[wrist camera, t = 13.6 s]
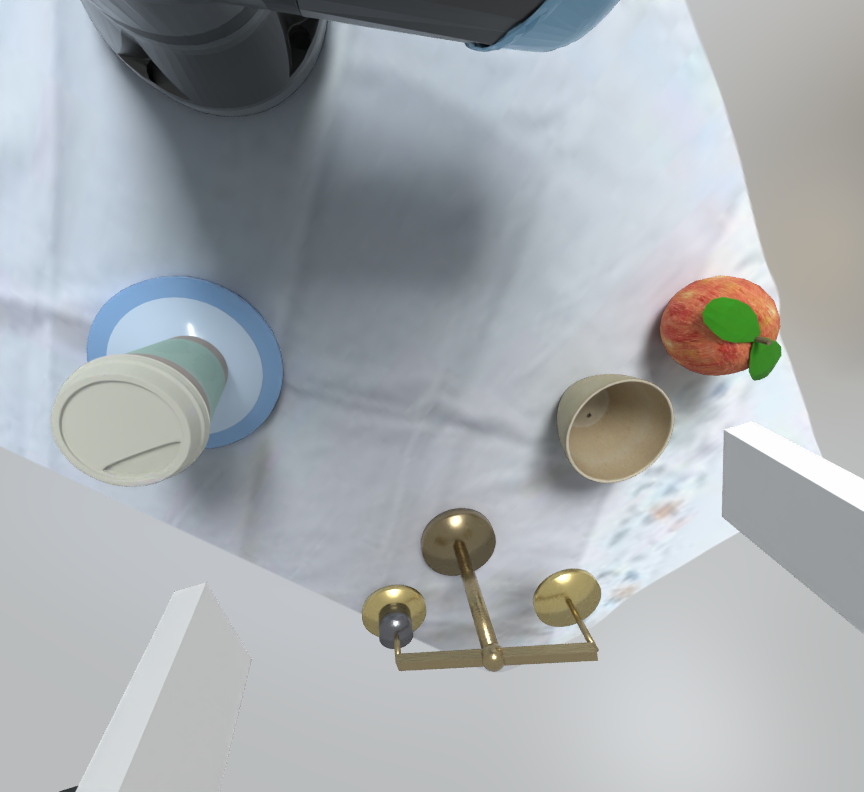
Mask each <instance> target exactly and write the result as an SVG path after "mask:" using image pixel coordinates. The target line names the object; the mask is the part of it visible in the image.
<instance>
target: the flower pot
mask: <svg viewBox="0 0 864 792" xmlns="http://www.w3.org/2000/svg"><path fill="white" fill-rule="evenodd" d="M589 413H590V414H591V416H589ZM557 426H558V433H559V438H560V441H561V444H562V447H563V449H564V452H565V454H566V456H567V458H568V460H569V461H570V463H571V464H572V466H573V467H574V469H575V470H576V471H577V472H578V473H579V474H581V475H582V476H584V477H585V478H587V479H589V480H592V481H595V482H601V483H614V482H620V481H624V480H627V479H630V478H632V477H634V476H636V475H638V474H640V473H641V472H643V471H644V470H646V469H647V468H648V467H649V466H650V465H652V464H653V463H654V462H655V461H656V460H657V459H658V457H659V456H660V455H661V454H662V452H663V451H664V450H665V448H666V446H667V444H668V442H669V440H670V438H671V435H672V431H673V426H674V411H673V407H672V404H671V402H670V400H669V398H668V396H667V395H666V394H665V392H664V391H663V390H662V389H660V388H659V387H658V386H656V385H655V384H653V383H650V382H648V381H645V380H642V379H639V378H635V377H630V376H625V375H617V374H604V375H595V376H591V377H587V378H584V379H582V380H580V381H577V382H576V383H574V384H573V385H571V386H570V387H569V388H568V389H567V390H566V391H565V393H564V394H563V396H562V398H561V400H560V403H559V407H558V412H557Z"/></svg>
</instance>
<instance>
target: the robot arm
mask: <svg viewBox="0 0 864 792" xmlns="http://www.w3.org/2000/svg"><path fill="white" fill-rule="evenodd" d="M81 2H82V4H83V6H84V8H85V10H86V12H87V14H88V15H89V17H90V19H91V20H92V22H93V24H94V25H95V27H96V28H97V30H98V31H99V33H100V34H101V36H102V37H103V38H104V40H105V41H106V42H107V44H108V45H109V46H110V47H111V49H112V50H113V51H114V52H115V53H116V54H117V55H118V57H119V58H120V59H121V60H122V61H123V62H124V63H125V64H126V65H127V66H128V67H129V68H130V69H131V70H132V71H134V72H135V73H136V74H137V75H138V76H139V77H141V78H142V79H143V80H144V81H146V82H147V83H148V84H150V85H151V86H153V87H154V88H156V89H157V90H159V91H160V92H162V93H164V94H165V95H167V96H168V97H170V98H172V99H173V100H175V101H177V102H179V103H181V104H183V105H185V106H187V107H190V108H192V109H195V110H198V111H201V112H205V113H209V114H213V115H220V116H245V115H251V114H255V113H259V112H262V111H265V110H267V109H270V108H272V107H274V106H276V105H278V104H279V103H281V102H282V101H284V100H285V99H287V98H288V97H289V96H290V95H291V94H293V93H294V92H295V91H296V90H297V89H298V88H299V87H300V85H301V84H302V83H303V82H304V80H305V79H306V78H307V76H308V75H309V73H310V72H311V70H312V68H313V66H314V64H315V62H316V60H317V58H318V56H319V53H320V50H321V47H322V44H323V40H324V36H325V32H326V26H327V21H334V22H340V23H346V24H352V25H359V26H365V27H371V28H377V29H383V30H390V31H396V32H402V33H408V34H415V35H421V36H427V37H433V38H440V39H446V40H452V41H458V42H464V43H465V45H466V46H467V47H468V48H470V49H473V50H476V51H481V52H488V51H491V50H499V49H501V48H505V49H514V50H524V51H533V52H548V51H552V50H555V49H557V48H560V47H563V46H567V45H569V44H570V43H572V42H574V41H577V40H579V39H580V38H582V37H583V36H584V35H585V34H587V33H588V32H589V31H590V30H592V29H593V28H594V27H595V26H596V25H597V24H598V23H599V22H600V21H601V20H602V19H603V18H604V17H605V16H606V15H607V14H608V13H609V12H610V11H611V10H612V9H613V8H614V6H615V5H616V4H617V3H618V2H619V0H81ZM722 517H723V518H724V519H725V520H727V521H728V522H729V523H730V524H731V525H733V526H734V527H735V528H736V529H737V530H739V531H740V532H741V533H742V534H743V535H745V536H746V537H747V538H748V539H750V540H751V541H752V542H753V543H755V544H756V545H757V546H758V547H759V548H760V549H762V550H763V551H764V552H765V553H766V554H768V555H769V556H770V557H771V558H773V559H774V560H775V561H776V562H777V563H779V564H780V565H781V566H782V567H783V568H785V569H786V570H787V571H788V572H789V573H791V574H792V575H793V576H794V577H795V578H797V579H798V580H799V581H800V582H801V583H803V584H804V585H805V586H806V587H807V588H809V589H810V590H811V591H812V592H814V593H815V594H816V595H817V596H818V597H820V598H821V599H822V600H823V601H824V602H826V603H827V604H828V605H829V606H830V607H832V608H833V609H834V610H835V611H836V612H838V613H839V614H840V615H841V616H843V617H844V618H845V619H846V620H847V621H849V622H850V623H851V624H852V625H853V626H855V627H856V628H857V629H858V630H860V631H861V632H862V633H863V634H864V479H862V478H860V477H858V476H856V475H854V474H852V473H850V472H849V471H847V470H845V469H843V468H841V467H839V466H837V465H835V464H833V463H831V462H829V461H827V460H826V459H824V458H822V457H820V456H818V455H816V454H814V453H812V452H810V451H808V450H806V449H804V448H802V447H801V446H799V445H797V444H795V443H793V442H791V441H789V440H787V439H785V438H783V437H781V436H779V435H778V434H776V433H774V432H772V431H770V430H768V429H766V428H764V427H762V426H760V425H758V424H756V423H755V422H753V421H752V422H749V423H745V424H742V425H738V426H735V427H732V428H728V429H725V430H724V449H723V491H722ZM251 660H252V659H251V658H250V656H249V654H248V652H247V651H246V649H245V647H244V645H243V644H242V642H241V640H240V639H239V637H238V635H237V634H236V632H235V630H234V628H233V627H232V625H231V623H230V622H229V620H228V618H227V616H226V615H225V613H224V612H223V610H222V608H221V606H220V605H219V603H218V601H217V599H216V598H215V596H214V594H213V593H212V591H211V589H210V587H209V586H208V584H207V582H205V583H202V584H198V585H195V586H192V587H188V588H185V589H181V590H178V591H174V593H173V595H172V597H171V600H170V601H169V603H168V606H167V608H166V610H165V612H164V614H163V616H162V618H161V620H160V622H159V624H158V626H157V628H156V630H155V632H154V634H153V636H152V638H151V640H150V642H149V644H148V646H147V648H146V650H145V652H144V654H143V656H142V658H141V660H140V662H139V664H138V666H137V668H136V670H135V672H134V674H133V676H132V678H131V680H130V682H129V685H128V686H127V689H126V690H125V693H124V695H123V697H122V699H121V701H120V703H119V705H118V707H117V709H116V711H115V713H114V715H113V717H112V719H111V721H110V723H109V725H108V727H107V729H106V731H105V733H104V735H103V737H102V739H101V741H100V743H99V745H98V747H97V749H96V751H95V753H94V755H93V757H92V759H91V761H90V763H89V765H88V768H87V769H86V772H85V773H84V776H83V778H82V780H81V782H80V784H79V786H75V787H73V788H69V789H66V790H63V791H60V792H219V791H220V787H221V783H222V779H223V775H224V771H225V767H226V763H227V759H228V755H229V750H230V746H231V742H232V738H233V734H234V730H235V725H236V722H237V718H238V713H239V709H240V705H241V701H242V697H243V693H244V689H245V685H246V681H247V677H248V672H249V668H250V664H251Z"/></svg>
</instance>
